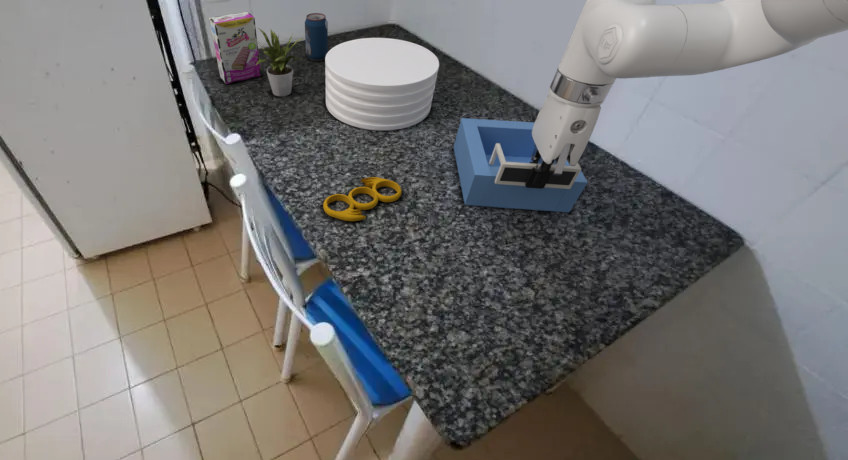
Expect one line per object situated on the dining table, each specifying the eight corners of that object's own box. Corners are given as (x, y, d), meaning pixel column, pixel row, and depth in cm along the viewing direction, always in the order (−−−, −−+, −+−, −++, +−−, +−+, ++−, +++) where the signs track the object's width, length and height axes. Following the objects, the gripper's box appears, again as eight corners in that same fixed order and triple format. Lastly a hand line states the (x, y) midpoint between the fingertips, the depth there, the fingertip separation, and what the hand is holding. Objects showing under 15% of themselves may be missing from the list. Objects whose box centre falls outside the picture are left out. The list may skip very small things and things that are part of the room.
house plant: (241, 92, 108) (230, 29, 96) (277, 75, 115) (271, 15, 103) (277, 109, 102) (270, 44, 90) (312, 90, 109) (310, 27, 97)
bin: (541, 152, 89) (555, 123, 84) (569, 212, 75) (587, 182, 70) (453, 147, 90) (461, 117, 85) (464, 205, 77) (474, 174, 71)
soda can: (331, 54, 126) (331, 14, 117) (322, 63, 121) (321, 21, 113) (311, 51, 127) (310, 11, 119) (302, 59, 123) (300, 18, 114)
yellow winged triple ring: (314, 197, 78) (335, 229, 72) (314, 191, 77) (335, 223, 70) (386, 176, 83) (412, 205, 77) (387, 170, 82) (413, 199, 75)
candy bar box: (226, 85, 110) (213, 23, 98) (220, 78, 113) (207, 17, 101) (262, 76, 114) (254, 15, 103) (255, 70, 117) (247, 10, 106)
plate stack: (452, 114, 100) (463, 70, 92) (357, 141, 92) (360, 95, 83) (393, 71, 118) (397, 31, 109) (308, 90, 109) (306, 48, 100)
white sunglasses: (570, 189, 69) (581, 169, 66) (495, 184, 70) (502, 164, 67) (559, 167, 74) (569, 147, 70) (488, 162, 74) (495, 143, 71)
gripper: (629, 114, 51) (567, 215, 64) (588, 64, 62) (542, 160, 75) (570, 110, 51) (521, 211, 65) (539, 62, 62) (502, 157, 75)
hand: (532, 183), depth 70 cm, fingers closed on white sunglasses, 1 cm apart
